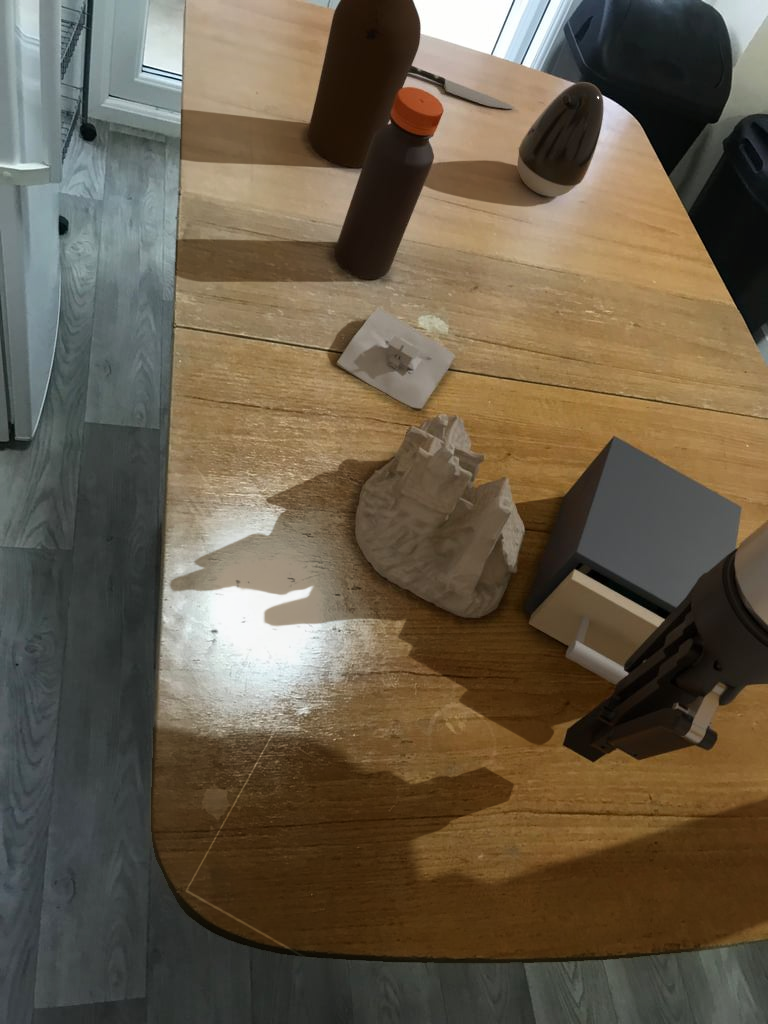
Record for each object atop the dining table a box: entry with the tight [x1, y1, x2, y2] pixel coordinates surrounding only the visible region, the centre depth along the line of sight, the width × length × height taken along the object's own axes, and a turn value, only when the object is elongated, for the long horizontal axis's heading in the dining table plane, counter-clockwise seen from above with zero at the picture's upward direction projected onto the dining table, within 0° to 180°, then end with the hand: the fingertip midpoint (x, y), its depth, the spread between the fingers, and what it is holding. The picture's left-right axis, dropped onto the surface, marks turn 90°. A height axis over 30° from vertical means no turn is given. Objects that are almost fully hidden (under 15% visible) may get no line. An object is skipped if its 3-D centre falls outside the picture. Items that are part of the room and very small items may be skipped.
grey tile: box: [336, 306, 457, 411], centre depth 88 cm, size 12×11×4 cm
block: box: [592, 570, 659, 613], centre depth 76 cm, size 5×5×5 cm
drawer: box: [528, 563, 671, 686], centre depth 74 cm, size 19×13×8 cm, turn 157°
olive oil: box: [307, 0, 422, 169], centre depth 102 cm, size 11×11×25 cm
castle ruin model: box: [354, 413, 526, 619], centre depth 73 cm, size 16×16×15 cm
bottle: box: [334, 86, 445, 280], centre depth 91 cm, size 7×7×20 cm
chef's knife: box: [408, 65, 516, 110], centre depth 130 cm, size 19×1×3 cm
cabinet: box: [523, 435, 743, 614], centre depth 78 cm, size 16×14×10 cm
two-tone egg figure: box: [517, 81, 605, 198], centre depth 116 cm, size 10×10×15 cm
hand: (580, 745), depth 65 cm, fingers closed
